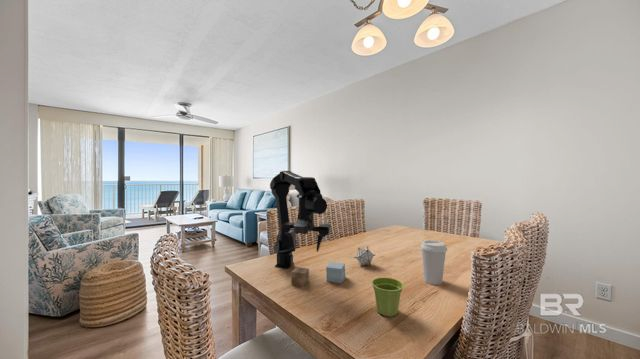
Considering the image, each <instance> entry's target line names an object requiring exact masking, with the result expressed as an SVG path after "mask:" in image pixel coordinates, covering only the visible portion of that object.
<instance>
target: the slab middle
mask: <svg viewBox="0 0 640 359" xmlns="http://www.w3.org/2000/svg"><path fill="white" fill-rule="evenodd" d="M344 275H345V276H346V268H345V269H344V271H343V272H342V274H336V273H328V272H326V276H325V277H326V278H327V277H329V278H336V279H342V278H343V276H344Z"/></svg>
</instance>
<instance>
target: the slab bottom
mask: <svg viewBox="0 0 640 359" xmlns="http://www.w3.org/2000/svg"><path fill="white" fill-rule="evenodd" d="M345 279H346V274H345V275H344V276H343V278H342V279H336V278H329V277H326V282H329V281H330V282H331V283H338V284H342V283H343V282H344V281H345Z"/></svg>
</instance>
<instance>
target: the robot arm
mask: <svg viewBox="0 0 640 359" xmlns="http://www.w3.org/2000/svg"><path fill="white" fill-rule="evenodd" d="M291 186H294V189H295V190H296V191H297V193H298V194H297V195H296V198H298V212H297V218H296V220H295V222H292V221H290V216H289V209H288V199H287V196H289V193H290V187H291ZM269 188H270V190H271V195H272V196H273V197H274V198H275V200H276V202H275V203H276V212H277V222H278V229H279V230H278V233H277V235H276V241H275V243H274V245H273V252H274V254H276V264H275V265H274V267H275V268H276V267H277V268H283V269H289V268H290V267H292V266H293V265H294V264H295V263H294V262H295V261H294V255H293V252H296V249H297V239H296V238H297V237H296V235H298V234H302V235H307V234H308V233H309V232H317V233H318V234H317V236H316V237H317V239H316V240H317V241H316V243H317V244H316V252H319V251H320V250H319V249H320V247H321V245H322V241H323V239H324V238H325V237H327V236H329V235H330V234H331V233H332V226H331V225H330V224H328V223H326V224H325V223H321V224H320V225H317V226H316V225H315V222H314V215H315V214H317V215H322V214H325V212H326V210H327V208H328V203H327V201H326V199H325V198H323V194H322V193H321V189H320V187H319V185H318V183H317V181H316V178H315V177H311V176H310V177H309V176H301V175H300V174H297V173H294V172H293V171H291V170H282V171H281V170H280V172H279V173H278V174H277V175H275V176H274V177H273V178H272V179H271V181H270V184H269Z"/></svg>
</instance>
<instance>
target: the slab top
mask: <svg viewBox="0 0 640 359" xmlns="http://www.w3.org/2000/svg"><path fill="white" fill-rule="evenodd" d="M345 265H346V263H343V262H333V261H330V262H329V263H328V264H327V266H326V267H325V271H326V273H327V272H328V273H336V274H342V272H343V271H344V269H345V270H346V266H345Z"/></svg>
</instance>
